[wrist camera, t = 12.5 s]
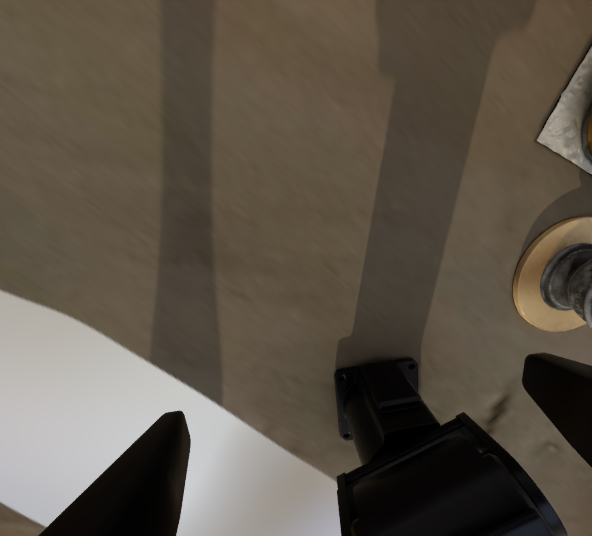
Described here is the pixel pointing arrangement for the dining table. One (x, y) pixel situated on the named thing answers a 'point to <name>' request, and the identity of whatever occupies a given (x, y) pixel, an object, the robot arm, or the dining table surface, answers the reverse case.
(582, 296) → the grey carved stone piece
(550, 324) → the coaster
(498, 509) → the robot arm
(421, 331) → the dining table surface
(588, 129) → the condiment
